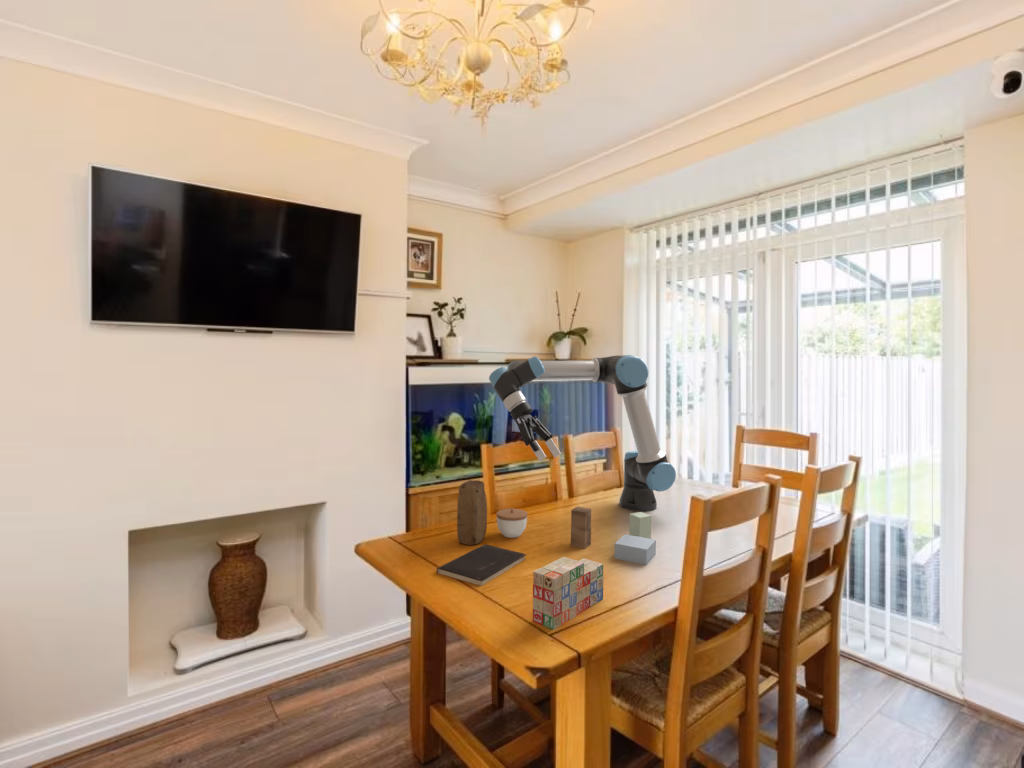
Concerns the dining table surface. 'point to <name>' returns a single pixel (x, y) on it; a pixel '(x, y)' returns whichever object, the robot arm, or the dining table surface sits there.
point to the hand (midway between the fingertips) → (550, 457)
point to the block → (471, 512)
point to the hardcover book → (481, 564)
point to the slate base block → (635, 549)
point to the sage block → (640, 525)
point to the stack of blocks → (565, 590)
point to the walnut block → (581, 527)
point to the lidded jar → (511, 522)
